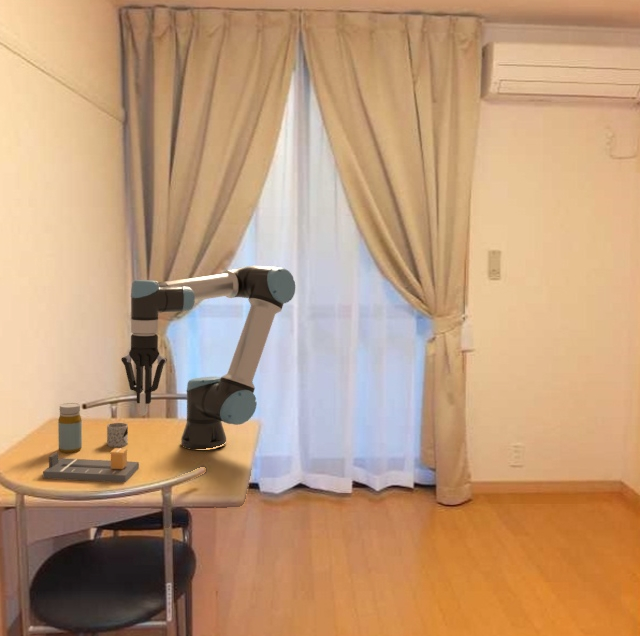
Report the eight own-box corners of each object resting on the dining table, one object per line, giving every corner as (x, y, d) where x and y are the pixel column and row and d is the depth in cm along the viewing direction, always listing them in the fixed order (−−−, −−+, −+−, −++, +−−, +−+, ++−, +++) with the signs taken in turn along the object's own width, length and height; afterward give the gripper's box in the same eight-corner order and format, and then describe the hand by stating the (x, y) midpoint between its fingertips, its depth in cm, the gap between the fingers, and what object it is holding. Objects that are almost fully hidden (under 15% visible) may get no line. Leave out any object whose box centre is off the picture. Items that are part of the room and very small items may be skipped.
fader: (127, 465, 201) (127, 448, 200) (123, 469, 197) (123, 452, 196) (114, 464, 201) (114, 447, 200) (110, 468, 197) (110, 451, 197)
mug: (128, 446, 226) (128, 427, 225) (107, 448, 224) (107, 428, 223) (126, 438, 235) (126, 419, 235) (106, 439, 233) (106, 420, 232)
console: (138, 468, 205) (138, 452, 205) (125, 482, 193) (125, 465, 193) (60, 464, 206) (60, 448, 206) (43, 478, 194) (42, 461, 194)
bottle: (74, 454, 216) (73, 408, 214) (54, 452, 217) (53, 406, 216) (85, 448, 223) (85, 403, 221) (66, 446, 224) (66, 401, 223)
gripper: (170, 333, 198) (169, 412, 200) (126, 331, 198) (125, 410, 201) (163, 336, 190) (162, 418, 193) (117, 334, 191) (117, 416, 193)
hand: (143, 414), depth 197 cm, fingers closed
